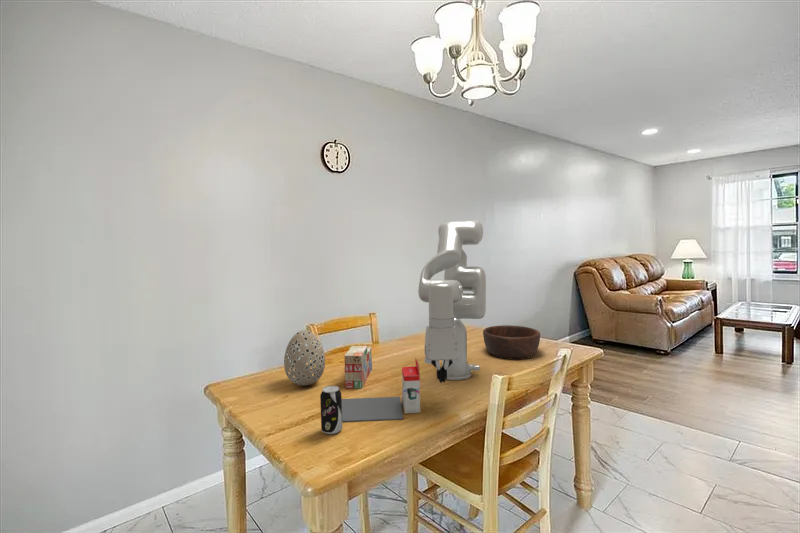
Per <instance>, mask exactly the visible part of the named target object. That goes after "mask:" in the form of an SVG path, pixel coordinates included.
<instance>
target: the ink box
mask: <svg viewBox="0 0 800 533" xmlns="http://www.w3.org/2000/svg"><path fill="white" fill-rule="evenodd" d="M414 359H415V366H402V367H401V377H402V378H401V382H402V383H401V384H402V387H401V389H402V393H401V394H402V395H401V396H402V397H401V399H402V400H401V403H402V406H403V411H404V414H417V413H421V381H420V380H421V378H420V375H421V372H420V364H419V361H418V360H417V358H416V357H415V358H414Z"/></svg>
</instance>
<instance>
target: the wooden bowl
mask: <svg viewBox="0 0 800 533" xmlns="http://www.w3.org/2000/svg"><path fill="white" fill-rule="evenodd" d="M482 335H483V342H484V346H485V348H486V350H487V352H488V353H489V354H492V356H493V355H494V356H493V357H496V356H497V357H496V358H500V357H502V358H501V359H506V358H512V359H511V360H523V359H522V358H526V359H529V358H528V357H530V358H532V357H533V356H535V354H537V351H538V348H539V346H540V341H541V332H540V331H539V330H537V329H535V328H532V327H528V326H522V325H509V324H508V325H507V324H505V325H504V324H503V325H494V326H488V327H486V328H483V331H482ZM531 356H532V357H531Z"/></svg>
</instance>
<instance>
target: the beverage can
mask: <svg viewBox="0 0 800 533" xmlns="http://www.w3.org/2000/svg"><path fill="white" fill-rule="evenodd" d="M319 396H320V397H319V398H320V400H319V402H320V425H321V432H322V433H323V434H327V435H335V434H337V433H339V432H340V431H342V430H343V422H342V399H343V398H342V392H341V390H340V387H339V386H337V385H327V386H324V387H322V391H321V392H320V394H319Z"/></svg>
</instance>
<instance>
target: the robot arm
mask: <svg viewBox="0 0 800 533" xmlns="http://www.w3.org/2000/svg"><path fill="white" fill-rule="evenodd" d="M483 236H484V227H483V224H482V222H481V221H480V220H453V221H445V222H443V223H440V225H439V226H438V243H437V251H436V255H435V256H433V257H431V259H429V261H428V262H427V263H425V265H424V266H423V268H422V270H421V273H420V276H419V282H418V290H417V291H418V298H419V300H421V301H422V302H423V303H428V325H427V326H426V329H425V333H424V334H425V336H424V355H425V356H424V360H423V361H424V363H425V364H428V365H432V367H434V368H435V369H436V380H438V381H439V383H440V384H441V383H446V380H448V381H462V380H467V379H469V378H471V376H472V371H480V365H479V364H477V365H476V364H475V363H468V350H467V345H468V344H467V343H468V342H467V341H468V334H467V333H468V332H467V328H466V326H465V324H464V323H463V322H462V319H465V320H466V319H467V320H469V319H471V320H478V319H479V320H481V319H483V318H484V316H485V314H486V310H487V309H486V308H487V305H486V304H487V299H486V298H487V276H486V272H485V269H483V267H480V266H467V265H468V264H467V261H468V256H467V253H466V251H465V250H464V249H463V246H466V245H467V246H469V245H470V246H472V245H473V246H474V245H475V246H477V245H478V244H480V242H481V241H482V239H483ZM443 271H444V276H443V278H444V279H432V278H433V277H434V276H435V275H437V274H439V273H441V272H443ZM464 292H468V293H464ZM469 292H473V293H469ZM440 361H441V362H440Z"/></svg>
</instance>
